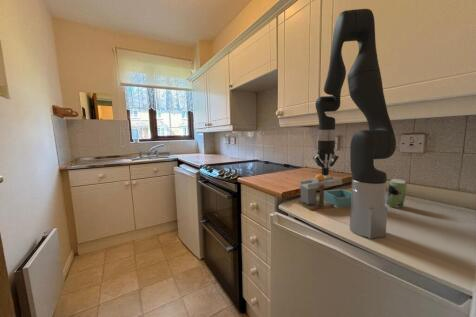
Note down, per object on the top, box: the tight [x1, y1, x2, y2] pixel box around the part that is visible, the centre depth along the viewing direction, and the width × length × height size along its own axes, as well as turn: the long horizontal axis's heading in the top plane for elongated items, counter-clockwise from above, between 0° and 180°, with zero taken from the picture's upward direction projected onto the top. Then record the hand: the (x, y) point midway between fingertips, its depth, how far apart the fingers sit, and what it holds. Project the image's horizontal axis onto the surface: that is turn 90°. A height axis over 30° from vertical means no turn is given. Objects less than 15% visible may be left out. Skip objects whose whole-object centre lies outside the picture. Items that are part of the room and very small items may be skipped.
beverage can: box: [385, 178, 408, 209], centre depth 86 cm, size 6×7×12 cm
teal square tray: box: [324, 188, 351, 208], centre depth 94 cm, size 12×12×4 cm
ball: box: [314, 173, 324, 182], centre depth 90 cm, size 4×4×4 cm
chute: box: [299, 175, 343, 205], centre depth 93 cm, size 17×12×10 cm
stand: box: [297, 185, 335, 211], centre depth 90 cm, size 12×10×10 cm
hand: (325, 175), depth 97 cm, fingers closed
